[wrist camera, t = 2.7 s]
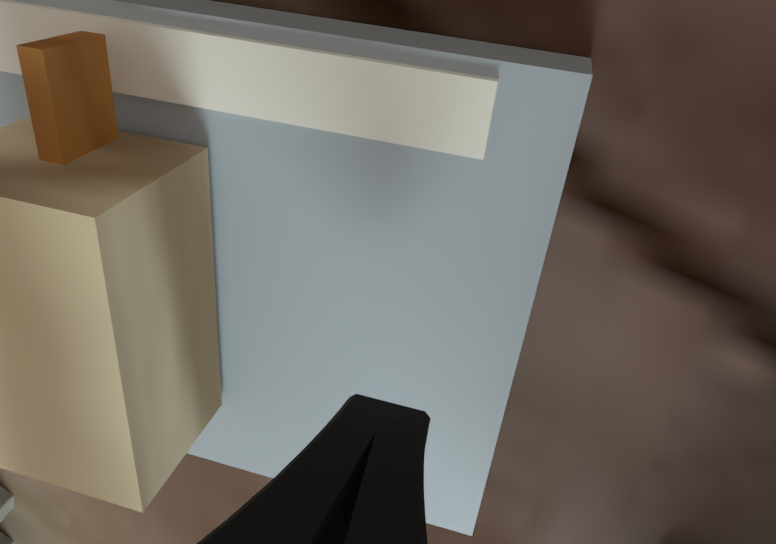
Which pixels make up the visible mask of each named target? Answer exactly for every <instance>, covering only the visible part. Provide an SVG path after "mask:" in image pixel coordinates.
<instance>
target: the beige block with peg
mask: <svg viewBox="0 0 776 544" xmlns="http://www.w3.org/2000/svg"><path fill="white" fill-rule="evenodd" d="M16 47H17V52H18V57H19V62H20V66H21V71H22V76H23V81H24V86H25V91H26V96H27V101H28V106H29V111H30V116H31V117H28V118H25V119H22V120H20V121H17V122H14V123H11V124H9V125H6V126H3V127H0V468H2V469H5V470H8V471H11V472H15V473H18V474H21V475H24V476H27V477H30V478H34V479H37V480H40V481H43V482H46V483H50V484H53V485H56V486H59V487H62V488H66V489H69V490H72V491H75V492H78V493H82V494H85V495H88V496H91V497H94V498H98V499H101V500H104V501H107V502H110V503H113V504H117V505H120V506H123V507H126V508H129V509H133V510H136V511H139V512H142V513H143V512H144V510H145V509H146V508H147V506H148V505H149V503H150V502H151V501H152V499H153V498H154V497H155V495H156V494H157V493H158V491H159V490H160V488H161V487H162V486H163V484H164V483H165V482H166V480H167V479H168V478H169V476H170V475H171V473H172V472H173V471H174V469H175V468H176V467H177V465H178V464H179V462H180V461H181V460H182V458H183V457H184V456H185V454H186V453H187V452H188V450H189V449H190V447H191V446H192V445H193V443H194V442H195V441H196V439H197V438H198V437H199V435H200V434H201V432H202V431H203V430H204V428H205V427H206V426H207V424H208V423H209V421H210V420H211V419H212V417H213V416H214V415H215V413H216V412H217V411H218V409H219V408H220V406H221V405H222V398H221V380H220V362H219V344H218V326H217V308H216V290H215V271H214V253H213V235H212V217H211V199H210V181H209V163H208V148H206V147H201V146H196V145H191V144H186V143H180V142H175V141H170V140H165V139H160V138H155V137H150V136H145V135H140V134H135V133H129V132H124V131H119V130H117V122H116V114H115V107H114V99H113V92H112V84H111V76H110V69H109V61H108V54H107V46H106V38H105V34H99V33H93V32H87V31H77V32H73V33H68V34H64V35H59V36H55V37H51V38H46V39H42V40H37V41H33V42H29V43H24V44H20V45H16Z"/></svg>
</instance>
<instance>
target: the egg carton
mask: <svg viewBox="0 0 776 544" xmlns="http://www.w3.org/2000/svg"><path fill="white" fill-rule="evenodd" d="M13 507H14V496H13V495H12V494H11V493H9V492H8V491H7V490H5V489H4V488H3V487H1V486H0V523H1V522H2V520H3V519H4V518H5V516H6V515H7V514H8V513H9V512H10V511H11V510H12V509H13ZM0 544H15V543H14V541H13V540H12V539H10V538H8V537H7V536H6V535H4V534H3V533H2V532H1V531H0Z"/></svg>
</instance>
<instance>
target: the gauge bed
mask: <svg viewBox="0 0 776 544" xmlns="http://www.w3.org/2000/svg"><path fill="white" fill-rule="evenodd" d="M77 31H87V32H93V33H99V34H105V38H106V46H107V54H108V61H109V69H110V76H111V84H112V92H113V99H114V107H115V114H116V122H117V130H119V131H124V132H129V133H135V134H140V135H145V136H150V137H155V138H160V139H165V140H170V141H175V142H180V143H186V144H191V145H196V146H201V147H206V148H208V163H209V181H210V199H211V217H212V235H213V253H214V271H215V290H216V308H217V326H218V344H219V362H220V380H221V398H222V405H221V406H220V408H219V409H218V411H217V412H216V413H215V415H214V416H213V417H212V419H211V420H210V421H209V423H208V424H207V426H206V427H205V428H204V430H203V431H202V432H201V434H200V435H199V437H198V438H197V439H196V441H195V442H194V443H193V445H192V446H191V447H190V449H189V450H188V452H187V453H188V454H192V455H195V456H198V457H202V458H205V459H209V460H212V461H216V462H219V463H223V464H226V465H229V466H233V467H236V468H240V469H243V470H247V471H250V472H253V473H257V474H260V475H264V476H267V477H271V478H274V477H276V476H277V475H278V474H279V473H280V472H281V471H282V470H283V469H284V468H285V467H286V466H287V465H288V464H289V463H290V462H291V461H292V460H293V459H294V458H295V457H296V456H297V455H298V454H299V453H300V452H301V451H302V450H303V449H304V448H305V447H306V446H307V445H308V444H309V443H310V442H311V441H312V440H313V439H314V437H315V436H316V435H317V434H318V433H319V432H320V431H321V430H322V429H323V428H324V427H325V426H326V424H327V423H328V422H329V421H330V420H331V419H332V418H333V417H334V415H335V414H336V413H337V412H338V411H339V409H340V408H341V407H342V406H343V405H344V403H345V402H346V401H347V400H348V398H349V397H351V396H353V395H355V394H359V395H363V396H367V397H371V398H375V399H379V400H383V401H387V402H391V403H395V404H398V405H402V406H406V407H410V408H414V409H418V410H422V411H425V412H426V413H427V414H428V416H429V417H430V424H429V429H428V435H427V441H426V446H425V455H424V502H425V518H426V523H429V524H432V525H436V526H439V527H443V528H446V529H449V530H453V531H456V532H460V533H463V534H467V535H470V536H472V534H473V530H474V526H475V522H476V518H477V515H478V511H479V507H480V503H481V499H482V496H483V492H484V488H485V484H486V480H487V476H488V473H489V469H490V465H491V461H492V457H493V454H494V450H495V446H496V442H497V438H498V435H499V431H500V427H501V423H502V419H503V416H504V412H505V408H506V404H507V400H508V396H509V393H510V389H511V385H512V381H513V377H514V374H515V370H516V366H517V362H518V358H519V355H520V351H521V347H522V343H523V339H524V335H525V332H526V328H527V324H528V320H529V316H530V313H531V309H532V305H533V301H534V297H535V294H536V290H537V286H538V282H539V278H540V275H541V271H542V267H543V263H544V259H545V255H546V252H547V248H548V244H549V240H550V236H551V233H552V229H553V225H554V221H555V217H556V214H557V210H558V206H559V202H560V198H561V195H562V191H563V187H564V183H565V179H566V175H567V172H568V168H569V164H570V160H571V156H572V153H573V149H574V145H575V141H576V137H577V134H578V130H579V126H580V122H581V118H582V115H583V111H584V107H585V103H586V99H587V95H588V92H589V88H590V84H591V80H592V76H593V72H592V61H591V58H588V57H581V56H575V55H568V54H561V53H555V52H548V51H542V50H535V49H528V48H522V47H515V46H509V45H502V44H495V43H489V42H482V41H475V40H469V39H462V38H456V37H449V36H442V35H436V34H429V33H422V32H416V31H409V30H403V29H396V28H389V27H383V26H376V25H370V24H363V23H356V22H350V21H343V20H336V19H330V18H323V17H317V16H310V15H303V14H297V13H290V12H284V11H277V10H270V9H264V8H257V7H250V6H244V5H237V4H231V3H224V2H217V1H211V0H0V127H3V126H6V125H9V124H11V123H14V122H17V121H20V120H22V119H25V118H28V117H31V116H30V111H29V106H28V101H27V96H26V91H25V86H24V81H23V76H22V71H21V66H20V62H19V57H18V52H17V47H16V45H20V44H24V43H29V42H33V41H37V40H42V39H46V38H51V37H55V36H59V35H64V34H68V33H73V32H77Z"/></svg>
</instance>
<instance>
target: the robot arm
mask: <svg viewBox="0 0 776 544" xmlns="http://www.w3.org/2000/svg"><path fill="white" fill-rule="evenodd" d="M429 424H430V417H429V416H428V414H427V413H426V412H425V411H422V410H418V409H414V408H410V407H406V406H402V405H398V404H395V403H391V402H387V401H383V400H379V399H375V398H371V397H367V396H363V395H359V394H355V395H353V396H351V397H349V398H348V400H347V401H346V402H345V403H344V405H343V406H342V407H341V408H340V409H339V411H338V412H337V413H336V414H335V415H334V417H333V418H332V419H331V420H330V421H329V422H328V423H327V424H326V426H325V427H324V428H323V429H322V430H321V431H320V432H319V433H318V434H317V435H316V436H315V437H314V439H313V440H312V441H311V442H310V443H309V444H308V445H307V446H306V447H305V448H304V449H303V450H302V451H301V452H300V453H299V454H298V455H297V456H296V457H295V458H294V459H293V460H292V461H291V462H290V463H289V464H288V465H287V466H286V467H285V468H284V469H283V470H282V471H281V472H280V473H279V474H278V475H277V476H276V477H274V478H273V479H272V480H271V481H270V482H269V483H268V484H267V485H266V486H265V487H264V488H262V489H261V490H260V491H259V492H258V493H257V494H256V495H254V496H253V497H252V498H251V499H250V500H249V501H248V502H247V503H245V504H244V505H243V506H242V507H241V508H240V509H239V510H237V511H236V512H235V513H234V514H233V515H232V516H231V517H229V518H228V519H227V520H226V521H224V522H223V523H222V524H221V525H220V526H218V527H217V528H216V529H215V530H213V531H212V532H211V533H210V534H208V535H207V536H206V537H205V538H203V539H202V540H201V541H199V542H198V543H197V544H428V543H427V533H426V518H425V502H424V455H425V446H426V441H427V435H428V429H429Z"/></svg>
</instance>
